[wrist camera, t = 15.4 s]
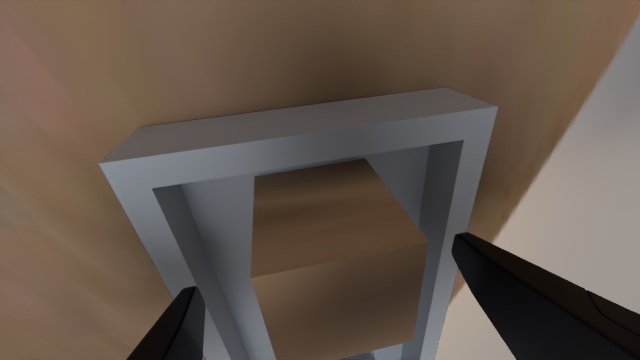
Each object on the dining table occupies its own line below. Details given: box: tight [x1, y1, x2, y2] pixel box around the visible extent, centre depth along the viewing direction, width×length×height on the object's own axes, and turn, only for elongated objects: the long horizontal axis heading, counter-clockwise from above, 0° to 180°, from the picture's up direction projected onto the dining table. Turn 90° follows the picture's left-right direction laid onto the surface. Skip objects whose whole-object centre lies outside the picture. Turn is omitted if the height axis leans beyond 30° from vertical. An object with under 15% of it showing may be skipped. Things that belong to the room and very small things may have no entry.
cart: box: [99, 87, 498, 360], centre depth 15 cm, size 20×14×3 cm
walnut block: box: [251, 158, 429, 360], centre depth 10 cm, size 4×4×5 cm
